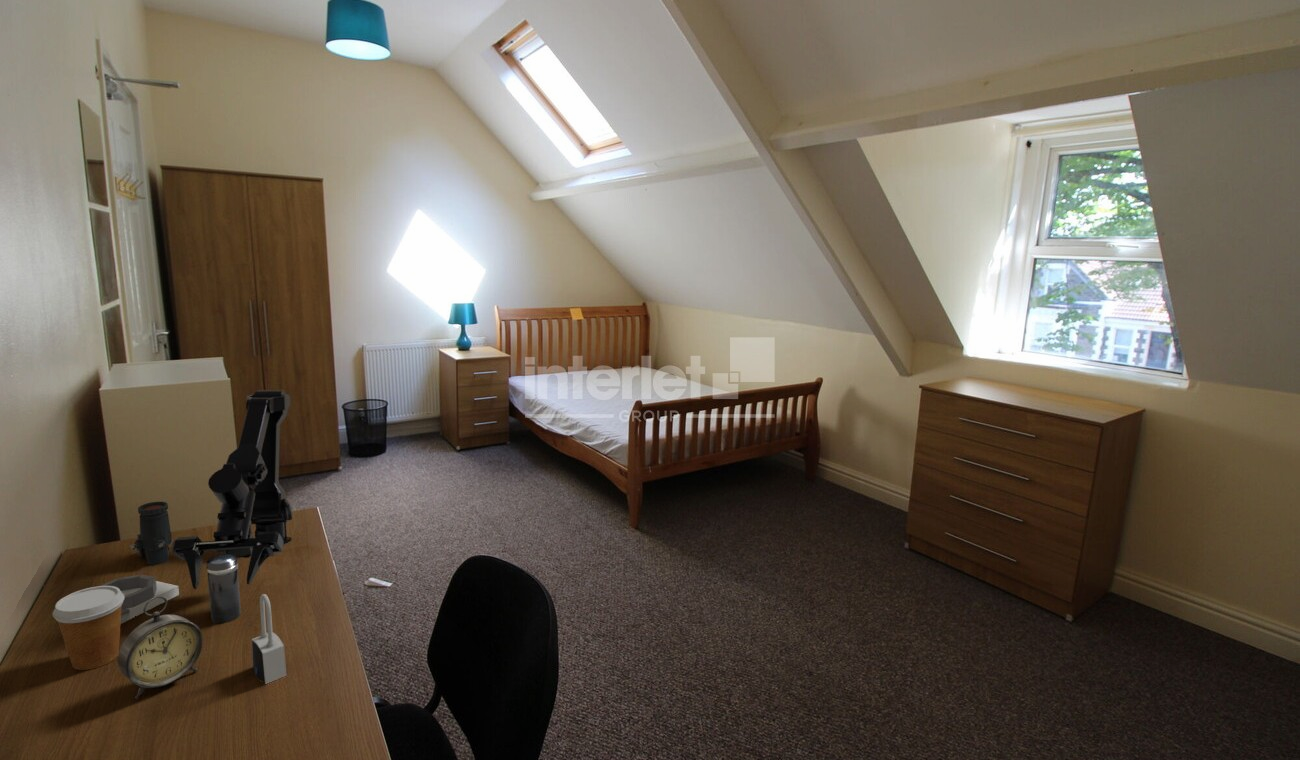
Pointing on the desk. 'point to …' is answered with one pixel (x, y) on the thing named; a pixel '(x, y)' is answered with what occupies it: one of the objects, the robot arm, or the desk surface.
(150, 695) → the desk surface
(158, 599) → the octagonal ring on plate
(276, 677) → the padlock
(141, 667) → the alarm clock
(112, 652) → the disposable coffee cup
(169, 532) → the scope
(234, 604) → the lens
